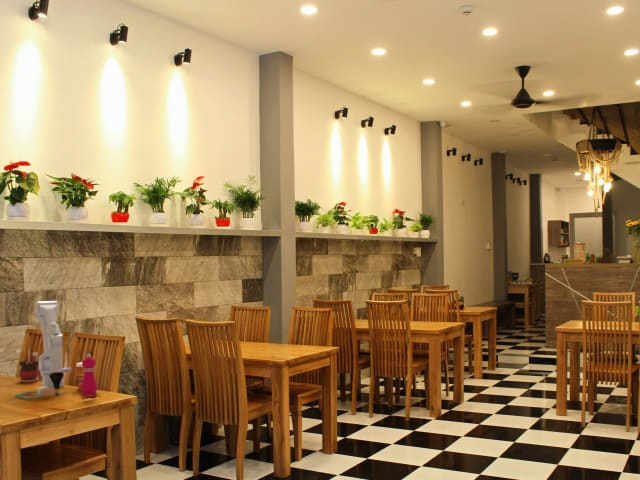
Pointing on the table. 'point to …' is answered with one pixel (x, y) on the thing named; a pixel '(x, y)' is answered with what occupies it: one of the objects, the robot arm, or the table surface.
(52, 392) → the terracotta block
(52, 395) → the plate
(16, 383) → the table surface
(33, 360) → the cake
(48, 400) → the table surface
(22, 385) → the table surface
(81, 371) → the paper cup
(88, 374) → the pepper mill
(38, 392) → the tile cream
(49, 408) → the table surface
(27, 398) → the box
